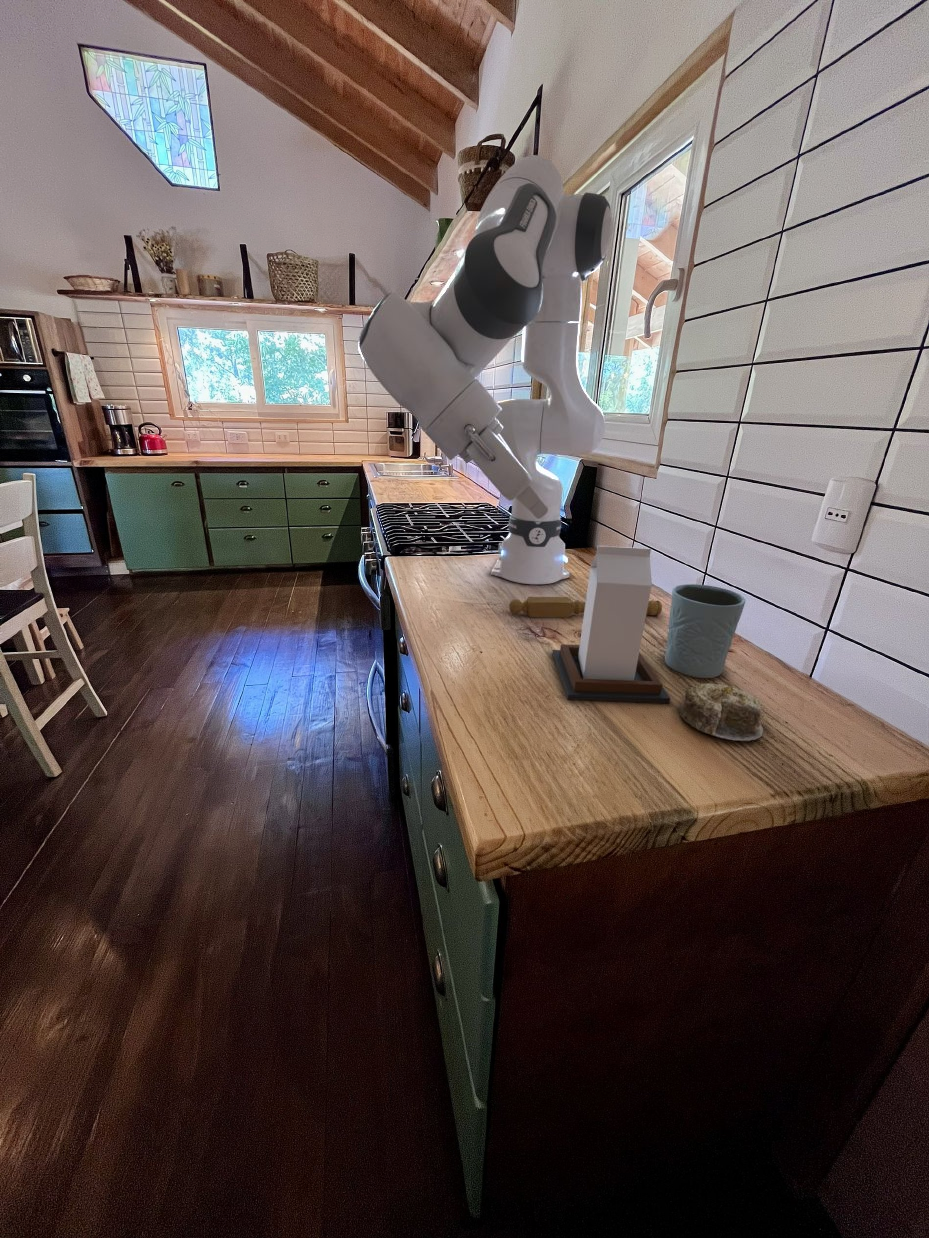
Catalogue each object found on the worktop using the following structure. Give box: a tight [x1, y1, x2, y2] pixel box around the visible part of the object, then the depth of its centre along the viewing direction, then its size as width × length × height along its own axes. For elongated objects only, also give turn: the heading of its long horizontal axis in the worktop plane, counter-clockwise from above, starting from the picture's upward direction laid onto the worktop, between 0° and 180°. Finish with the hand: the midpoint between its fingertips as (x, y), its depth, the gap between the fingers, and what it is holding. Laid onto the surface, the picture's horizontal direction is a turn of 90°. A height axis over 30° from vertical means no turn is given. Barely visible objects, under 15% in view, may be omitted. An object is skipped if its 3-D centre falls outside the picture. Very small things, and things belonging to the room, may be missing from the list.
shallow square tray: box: [552, 643, 671, 704], centre depth 74 cm, size 14×14×2 cm
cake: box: [678, 683, 764, 742], centre depth 64 cm, size 10×10×5 cm
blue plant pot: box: [664, 583, 746, 679], centre depth 77 cm, size 10×10×12 cm
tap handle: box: [508, 596, 663, 618], centre depth 97 cm, size 3×3×30 cm
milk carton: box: [578, 545, 653, 681], centre depth 71 cm, size 7×7×19 cm
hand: (538, 507), depth 65 cm, fingers open, 8 cm apart
